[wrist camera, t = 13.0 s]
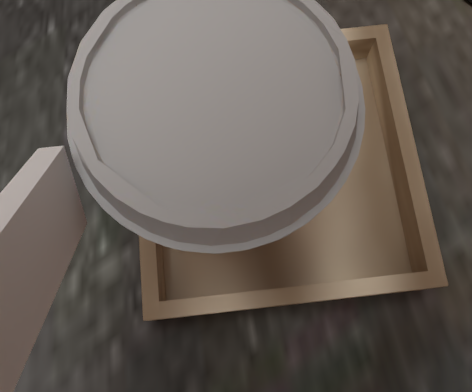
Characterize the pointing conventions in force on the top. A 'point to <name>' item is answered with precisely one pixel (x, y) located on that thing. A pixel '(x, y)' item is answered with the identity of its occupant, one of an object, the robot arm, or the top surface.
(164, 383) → the top surface
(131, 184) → the disposable coffee cup
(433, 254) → the birch tray
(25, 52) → the top surface
